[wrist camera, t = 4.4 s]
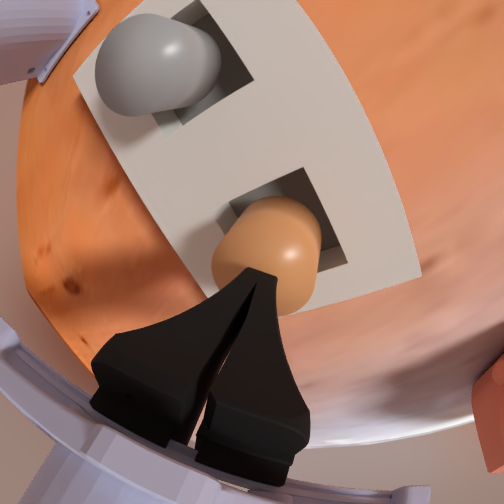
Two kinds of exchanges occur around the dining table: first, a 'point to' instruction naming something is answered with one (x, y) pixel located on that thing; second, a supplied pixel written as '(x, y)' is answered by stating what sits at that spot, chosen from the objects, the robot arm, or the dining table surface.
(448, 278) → the dining table surface
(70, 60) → the dining table surface
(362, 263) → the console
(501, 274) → the dining table surface
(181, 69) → the grey button
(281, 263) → the tan button
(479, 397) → the teapot
